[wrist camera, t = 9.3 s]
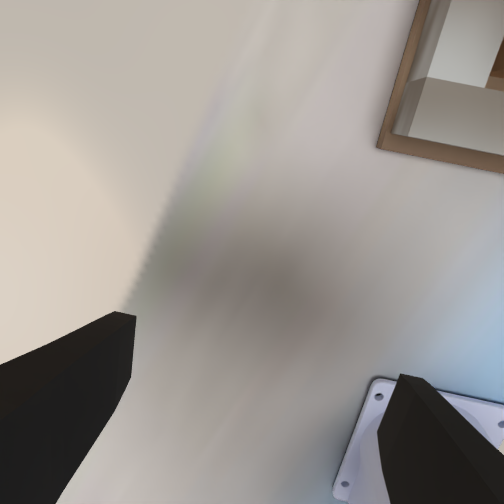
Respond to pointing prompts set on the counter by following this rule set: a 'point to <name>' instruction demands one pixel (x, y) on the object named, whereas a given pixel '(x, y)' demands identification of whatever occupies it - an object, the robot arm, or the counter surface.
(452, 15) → the socket block
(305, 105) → the counter surface
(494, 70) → the peg
